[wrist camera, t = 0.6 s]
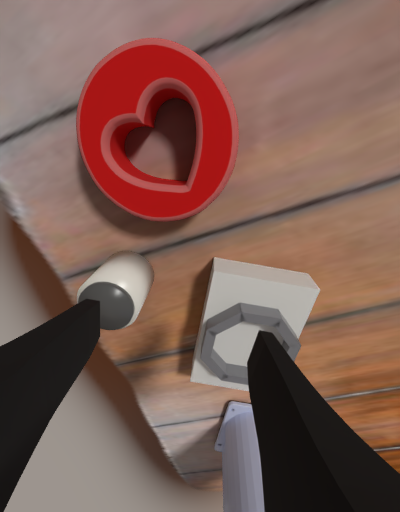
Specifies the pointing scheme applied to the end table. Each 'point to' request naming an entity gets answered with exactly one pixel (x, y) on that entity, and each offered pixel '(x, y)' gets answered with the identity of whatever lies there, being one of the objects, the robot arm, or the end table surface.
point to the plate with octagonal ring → (248, 318)
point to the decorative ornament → (143, 114)
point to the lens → (119, 288)
